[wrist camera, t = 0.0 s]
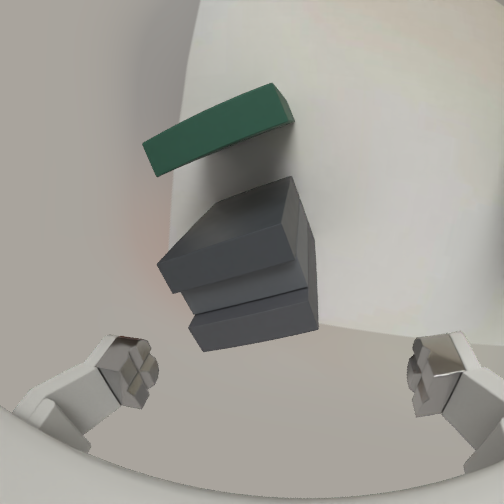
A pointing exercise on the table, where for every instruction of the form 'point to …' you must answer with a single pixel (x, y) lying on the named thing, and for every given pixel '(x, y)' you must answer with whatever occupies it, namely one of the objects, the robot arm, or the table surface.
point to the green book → (218, 128)
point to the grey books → (247, 269)
